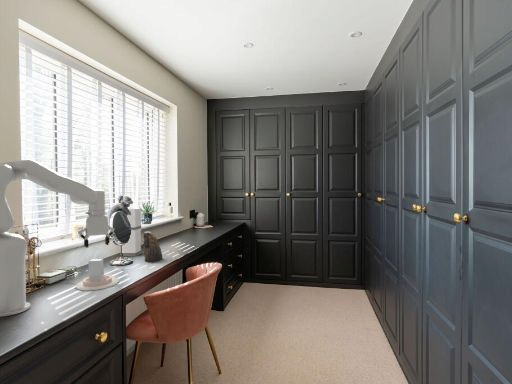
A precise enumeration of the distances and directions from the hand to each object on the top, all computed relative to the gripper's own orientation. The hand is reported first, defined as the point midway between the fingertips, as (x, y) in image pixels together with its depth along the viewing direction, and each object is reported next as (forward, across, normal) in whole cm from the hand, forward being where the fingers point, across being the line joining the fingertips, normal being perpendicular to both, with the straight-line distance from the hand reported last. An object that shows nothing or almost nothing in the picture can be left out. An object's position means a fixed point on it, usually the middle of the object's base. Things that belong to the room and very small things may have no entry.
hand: (97, 245), depth 156 cm
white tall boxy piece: (+20, +40, +59) cm, 74 cm away
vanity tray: (+20, 0, 0) cm, 20 cm away
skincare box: (+20, 0, 0) cm, 20 cm away
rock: (+20, +44, +30) cm, 57 cm away
